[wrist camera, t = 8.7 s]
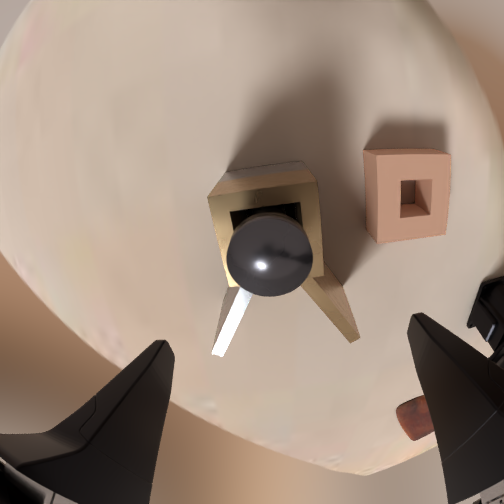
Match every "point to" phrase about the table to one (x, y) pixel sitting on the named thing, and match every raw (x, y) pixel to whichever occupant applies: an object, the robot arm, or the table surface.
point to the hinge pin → (269, 252)
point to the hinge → (307, 215)
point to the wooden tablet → (415, 418)
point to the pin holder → (389, 193)
